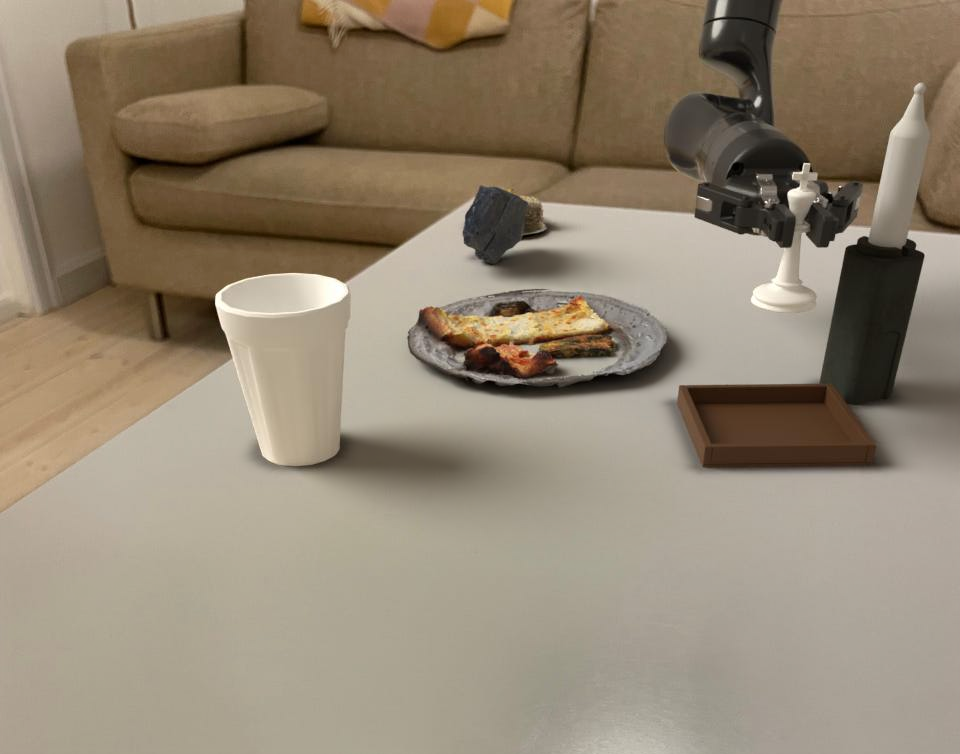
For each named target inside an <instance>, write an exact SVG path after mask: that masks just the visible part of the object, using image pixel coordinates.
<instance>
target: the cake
mask: <svg viewBox="0 0 960 754" xmlns="http://www.w3.org/2000/svg"><path fill="white" fill-rule="evenodd" d="M507 191H508V192H510V193H512V194H514V195H515V189H514V188H513V187H511V188H509V189H507ZM519 197H521V199H523V200H525V201H527V202H528V205H527V210H526V215H525V219H524V230H523V234H522V236H526V235H532V234H538V233H542V232H544V231H546V230H548V229H547V228H548V227H547V225H546V224H545V223H544V220H545V217H543V216H544V211H545V210H544V209H543V207H544V206H543V204H542V202H541V201H540V200H539V198H536V197H534V196H525V195H519Z"/></svg>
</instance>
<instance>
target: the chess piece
mask: <svg viewBox="0 0 960 754" xmlns="http://www.w3.org/2000/svg"><path fill="white" fill-rule="evenodd" d="M810 163H811V162H810ZM810 163H804V164H803V170H802V172H793V176H792V179H793V180H801V181H800V187H798V188H796V189H792V190H790V191H789V192H788V202H789V210H790V211H791V212H792V213H793V214H794V216H795V218H796V224H795V230H794V236H793V242H792V246H791V248H783V253H782V256H781V260H780V263H779V267H778V270H777V273H776V275H775V276H774V277H772V278H771V280H770V281H771V282H767V283H763V284H760V285H758V286H756V287H755V288H754V289H753V291H752V296H751V298H750V302H751V303H752V304H753V305H754V306H755V307H757V308H759V309H762V310H765V311H768V312H773V313H780V314H799V313H806V312H809V311H811V310H814V309H815V308H816V306H817V301H816V300H817V298H818V297H817V293H816V292H815V291H814V290H813V289H811V288H810V287H808V286H805V285H802V284H803V283H804V282H803V281H802V279H801V278H800V264H801V263H800V262H801V260H800V259H801V246H802V245H801V244H802V234H803V233H805V232H808V231H810V230H811V228H810V224H808V223H806V222H805V220H804V219H805V217H806V215H807V214H808V212H809V209H810V207H811V205H812V203H813V202H814V199H815V197H816V193H815V192H814V191H813V190H810V189H809V188H806V187H807V182H808V180H812V181H817V179H818V175H819V174H818V172H813V173H809V170H810ZM805 234H806V233H805Z"/></svg>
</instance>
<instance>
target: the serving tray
mask: <svg viewBox="0 0 960 754" xmlns="http://www.w3.org/2000/svg"><path fill="white" fill-rule="evenodd" d="M676 404H677V408H678V410H679V413H680V416H681V417H682V421H683V422H684V425H685V427H686V430H687V432H688V435H689V438H690V440H691V442H692V445H693V448H694V450H695V453H696V455H697V457H698V460H699V462H700V465H701V467H702V468H760V467H761V468H764V467H765V468H766V467H767V468H768V467H843V466H844V467H847V466H848V467H849V466H850V467H851V466H852V467H855V466H856V467H857V466H859V467H860V466H861V467H862V466H864V467H865V466H867V467H868V466H873V462H874V458H875V453H876V450H877V443H876V442H875V440H874V439H873V438H872V436H871V435H870V434H869V432H868V431H867V430H866V428H865V427H864V426H863V423H861V421H860V420H859V418H858V417H857V415H856V414H855V413H854V412H853V410H852V409H851V408H850V407H849V404H846V402H845V401H844V399H843V398H842V397H841V395H840V394H839V393H838V391H837V390H836V388H835V387H834V386H833V384H832V383H829V384H819V383H762V384H761V383H759V384H758V383H757V384H756V383H755V384H753V383H751V384H749V383H747V384H680V385H678V392H677V403H676Z"/></svg>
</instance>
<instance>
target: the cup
mask: <svg viewBox="0 0 960 754" xmlns="http://www.w3.org/2000/svg"><path fill="white" fill-rule="evenodd" d="M214 299H215V302H214V304H215V309H216V312H217V316H218V319H219V320H218V321H219V324H220V327H221V329H222V331H223V333H224V335H225V338H226V340H227V344H228V347H229V351H230V354H231V357H232V360H233V364H234V367H235V370H236V373H237V377H238V380H239V383H240V386H241V390H242V393H243V397H244V400H245V403H246V406H247V409H248V412H249V416H250V419H251V422H252V425H253V430H254V432H255V436H256V439H257V443H258V445H259V448H260V449H259V450H260V452H261V455H262V457H263V458H265V459H266V460H267V461H268V462H271V463H274V464H275V465H279V466H289V467H301V466H312V465H316V464H319V463H323V462H325V461H327V460H329V459H332V458H333V457H335V456H336V455H337V454H338V452H339V451H340V449H341V447H340V445H341V425H342V407H343V406H342V405H343V389H344V387H343V385H344V369H345V368H344V367H345V349H346V348H345V347H346V332H347V331H346V330H347V328H348V326H349V325H348V324H349V321H350V319H351V301H352V300H351V299H352V294H351V290H350V287H349V286H348V284H345V283H344V282H343V281H340V280H338V279H337V278H335V277H331V276H325V275H321V274H315V273H299V272H288V273H287V272H286V273H273V274H264V275H259V276H252V277H247V278H244V279H241V280H238V281H235V282H233V283H230V284H227V285H226V286H224V287H223V288H222V289H220V290H219V291H218V292H217V293H216V294H215V298H214Z"/></svg>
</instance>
